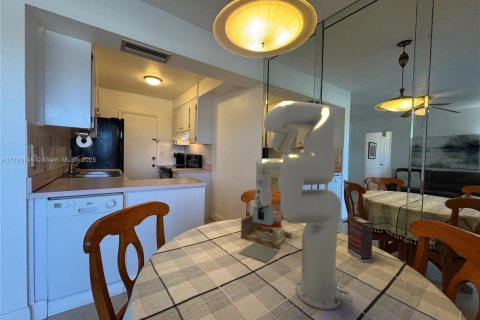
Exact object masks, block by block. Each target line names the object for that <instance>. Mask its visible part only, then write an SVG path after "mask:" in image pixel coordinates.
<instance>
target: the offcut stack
mask: <svg viewBox="0 0 480 320" xmlns="http://www.w3.org/2000/svg"><path fill="white" fill-rule="evenodd" d="M274 229H275V230H273V234H271V238H270V241H274V242H278V243H280V245H281V244H282V243H283V242H285V240H286V237H285V235H284V231H285V228H282V227H278V228H274Z"/></svg>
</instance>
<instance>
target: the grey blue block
mask: <svg viewBox="0 0 480 320" xmlns="http://www.w3.org/2000/svg"><path fill="white" fill-rule="evenodd" d="M261 208H262V207H261ZM273 211H274V207H272V206H271V207H270V206H268V207H265V206H264V208H263V212H264V220H259V219H258V211H257V208H256V204H255V205H252V214H253V222H257V223H262V224H267V225H271V224H273Z"/></svg>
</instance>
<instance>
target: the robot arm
mask: <svg viewBox="0 0 480 320" xmlns="http://www.w3.org/2000/svg"><path fill="white" fill-rule="evenodd" d="M336 126H337V114H336V112H335V111H334V109H333V108H332V107H331V106H329V105H326V104H323V103H322V104H321V103H313V102H303V101H295V100H294V101H293V100H285V101H282V102H280V103H278V104H276V105H275V106H273V107H272V108H271V109H270V110H269V111H268V112H267V113H266V115H265V117H264V120H263V127H264V129H265V131H266V132H268V133H273V135H272V137H271V139H270V146H271V147H272V149H274V150H275V151H276V152H278V153H280V154H282V156H281V158H271V157H270V158H268V157H267V158H260V159H259V158H258V159H257V160H256V162H255V195H254V196H255V197H254V202H255V203H254V204H255V205H256V208H257V211H258V219H259V220H264V212H263V208H264V206H265V207H270V205H271V204H272V189H271V188H272V187H271V183H272V182H271V181H272V179H271V176H272V175H280V177H279V178H280V211H281V216H282V217H283V219H284V220H285V221H286V222H287V223H289V224H292V225H293V224H294V225H296V224H299V225H300V224H304V228H303V229H302V236H301V238H302V239H301V241H302V242H301V277H300V278H301V279H299V280H298V281H297V282H296V285H295V292H296V294H297V296H298V297H299V299H300V300H302V301H303V302H304V303H305V304H307V305H309V306H311V307H313V308H316V309H319V310H333V309H337V308H338V307H339V306H340V305H341V302H342V301H344V302H346V303H348V304H351V305H353V302H354V301H353V300H354V298H353V297H354V296H353V295H351V294H349V293H350V291H349V290H348V289H345V288H342V287H341V286H339V285H338V283H339V281H338V280H337V279H336V273H337V272H336V271H337V270H336V268H337V242H338V241H337V240H338V239H337V238H338V228H339V222H340V219H341V214H342V202H341V200H340V198H339V196H338V195H337V194H336V193H335V192H334V191H332V190H329V189H323V188H314V189H313V188H312V189H310V188H309V189H303V187H304V186H315V185H316V186H318V185H320V186H321V185H326V184H330V183H331V182H332V181H333V180H334V177H335V132H336ZM300 129H301V130H308V131H307V133H306V135H305V136H304V140H303V152H292V150H291V148H290V147H291V145H292V144H293V143H294V140H295V137H296V136H297V134H298V133H299V131H300ZM261 207H262V208H261Z"/></svg>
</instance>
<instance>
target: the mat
mask: <svg viewBox="0 0 480 320" xmlns="http://www.w3.org/2000/svg"><path fill="white" fill-rule="evenodd" d="M278 253H279V250H278V249H275V248H271V247H268V246H265V245H261V244H258V243H254V242H251V244H250V245H248V246H247V247H245V248H243V249H242V250H241V251H239V252H238V254H239V255H241V256H244V257H246V258H247V257H248V258H250V259H253V260H255V261H259V262H263V263H264V264H267V263H268V262H270V261H271V260H272V259H273V258H274V257H275V256H276V254H278Z"/></svg>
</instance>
